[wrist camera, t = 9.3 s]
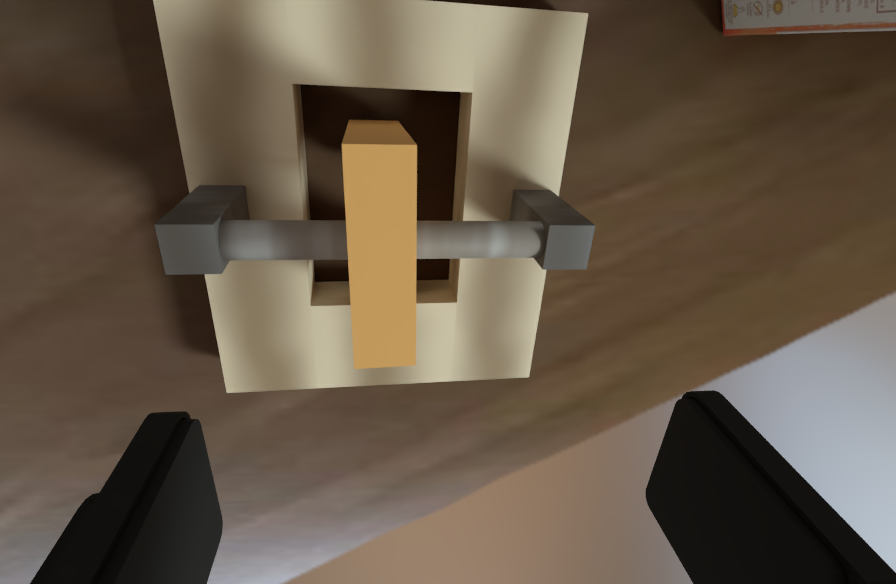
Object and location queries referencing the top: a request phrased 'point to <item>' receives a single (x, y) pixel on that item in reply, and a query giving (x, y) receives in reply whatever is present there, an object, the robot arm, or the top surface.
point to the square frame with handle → (304, 240)
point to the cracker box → (806, 16)
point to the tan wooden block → (381, 241)
